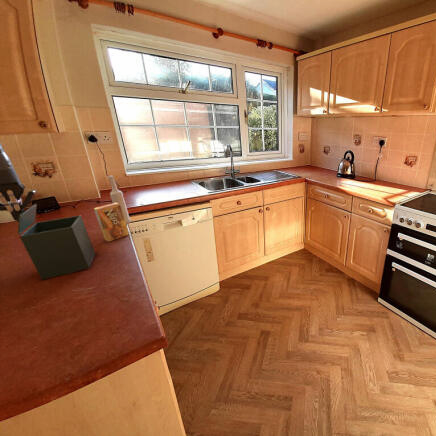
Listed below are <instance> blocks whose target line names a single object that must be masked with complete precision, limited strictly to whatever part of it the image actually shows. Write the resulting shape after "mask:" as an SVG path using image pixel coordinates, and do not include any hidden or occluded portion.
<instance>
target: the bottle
mask: <svg viewBox="0 0 436 436" xmlns="http://www.w3.org/2000/svg"><path fill="white" fill-rule="evenodd" d="M107 177H108V181H109V183H110V186H111V191H110V193H109V196H110V199H111V201H112V204H113V203H118V204H120V206H121V210H122V213H123V216H124V219H125V222H126V225H129V224H131V223H132V220H131V218H130V215H129V211H128V208H127V205H126V200H125V198H124V193H123V192H122V191H121V190H119V188H117V187H118V186H117V184H116V181H115V178H114V175H108V176H107Z"/></svg>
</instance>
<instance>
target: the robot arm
mask: <svg viewBox="0 0 436 436" xmlns="http://www.w3.org/2000/svg"><path fill="white" fill-rule="evenodd" d="M36 193H37V190H36V189H29V188H26V186H25V185H24V184H23V183H22V182H21V180H20V178H19V175H18V173H17V172H16V170H15V167H14V165H13V163H12V160H11V159H10V157H9V155H8V154H7V153H6V151H5V148H4V146H3V144H2V142H0V211H1V212H3V211H5V212H9V214H10V215H11V217H12V220H14V221H16V222H18V223H19V215H21V214H22V213H23V212H25V211H26V210H25V208H27V207H29V206H30V205H31V203H32V202H33V199H34V197H35V196H36ZM23 194H24V196H25V198H24V200H23V199H22V196H23Z"/></svg>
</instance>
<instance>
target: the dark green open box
mask: <svg viewBox="0 0 436 436" xmlns="http://www.w3.org/2000/svg"><path fill="white" fill-rule="evenodd" d="M19 238H20V240H21V242H22V244H23V246H24V248H25V250H26V252H27V254H28V256H29V258H30V260H31V262H32V264H33V265H34V268H35V270H36V271H37V273H38V275H39V277H40V279H41V280H46V279H51V278H55V277H59V276H63V275H69V274H72V273H75V272H80V271H84V270H88V269H90V267H91V265H92V263H93V261H94V257H95V256H96V251H95V248H94V245H93V243H92V241H91V238H90V235H89V232H88V231H87V228H86V225H85V223H84V220H83V217H82V216H81V215H74V216H69V217H68V216H67V217H62V218H61V217H60V218H55V219H49V220H44V221H38V222H34V223H32V224H31V225H30V226H29V227H28V228H27V229H26V230H24V231H23V232H22V233H21V234H20V236H19Z"/></svg>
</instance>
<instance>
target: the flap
mask: <svg viewBox="0 0 436 436" xmlns="http://www.w3.org/2000/svg"><path fill="white" fill-rule="evenodd" d="M24 211H25V212H23V213H22V214H21V215H19V222H18V226H17V235H20V236H21V235H22V234H23V233H24V232H25V231H26V230H28V229H29V228H30V227H31V226H32V225H33V224H34V223H36V218H37V216H36V215H37V203H35V204H33V205H32V206H30V207H29V208H28V209H26V210H24Z"/></svg>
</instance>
